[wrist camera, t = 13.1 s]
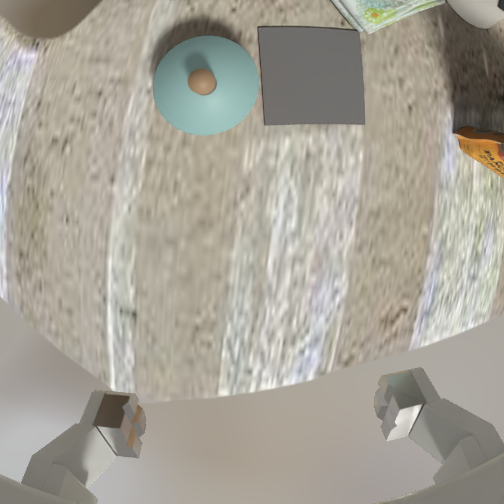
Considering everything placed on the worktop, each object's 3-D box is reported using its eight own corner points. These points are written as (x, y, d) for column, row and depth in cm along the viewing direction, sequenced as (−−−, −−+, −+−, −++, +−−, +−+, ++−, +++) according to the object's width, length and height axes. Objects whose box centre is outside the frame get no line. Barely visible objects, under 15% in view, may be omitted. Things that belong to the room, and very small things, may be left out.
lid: (150, 46, 31) (140, 39, 27) (253, 32, 31) (255, 22, 27) (160, 141, 36) (150, 145, 32) (262, 129, 36) (265, 131, 32)
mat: (258, 28, 35) (258, 27, 35) (358, 32, 35) (359, 31, 35) (264, 125, 41) (265, 125, 40) (364, 124, 41) (365, 124, 40)
